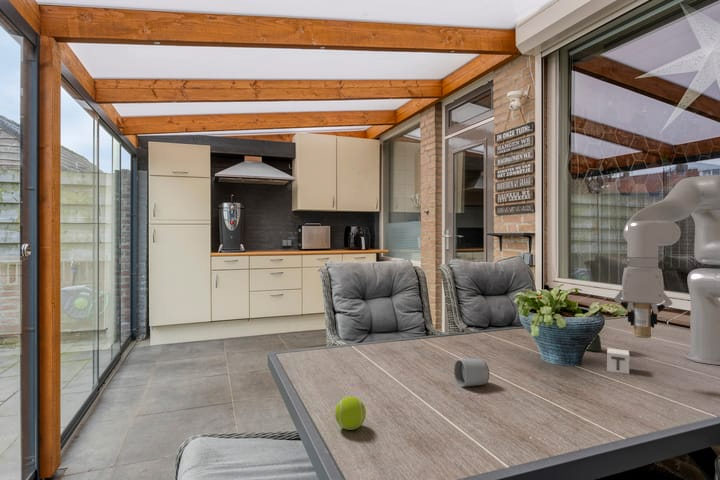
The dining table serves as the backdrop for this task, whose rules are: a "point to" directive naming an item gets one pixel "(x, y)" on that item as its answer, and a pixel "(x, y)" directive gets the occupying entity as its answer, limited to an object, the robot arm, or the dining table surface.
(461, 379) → the ceramic mug
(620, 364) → the lettered cube
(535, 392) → the dining table surface
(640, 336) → the sprinkles bottle
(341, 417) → the tennis ball
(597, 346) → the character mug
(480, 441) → the dining table surface
